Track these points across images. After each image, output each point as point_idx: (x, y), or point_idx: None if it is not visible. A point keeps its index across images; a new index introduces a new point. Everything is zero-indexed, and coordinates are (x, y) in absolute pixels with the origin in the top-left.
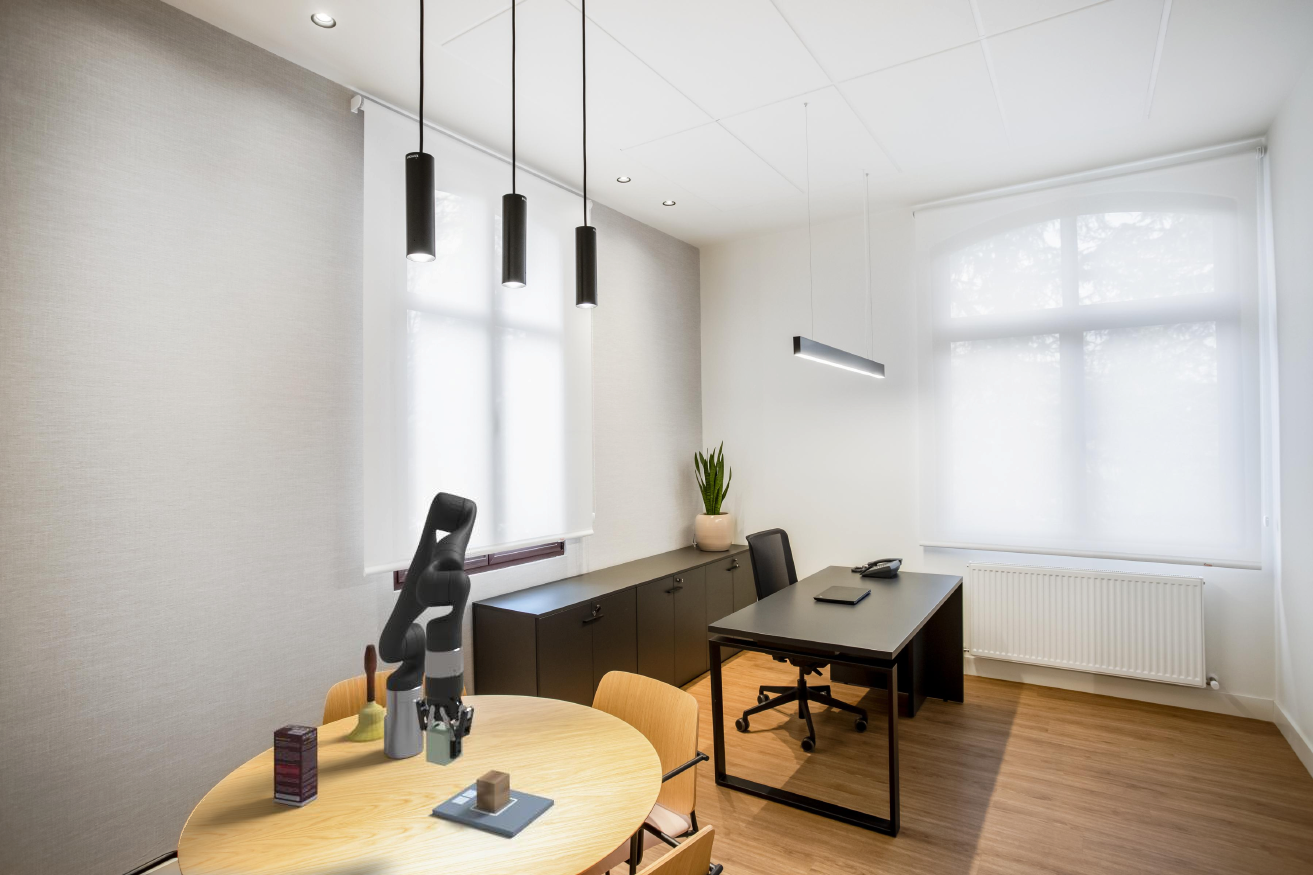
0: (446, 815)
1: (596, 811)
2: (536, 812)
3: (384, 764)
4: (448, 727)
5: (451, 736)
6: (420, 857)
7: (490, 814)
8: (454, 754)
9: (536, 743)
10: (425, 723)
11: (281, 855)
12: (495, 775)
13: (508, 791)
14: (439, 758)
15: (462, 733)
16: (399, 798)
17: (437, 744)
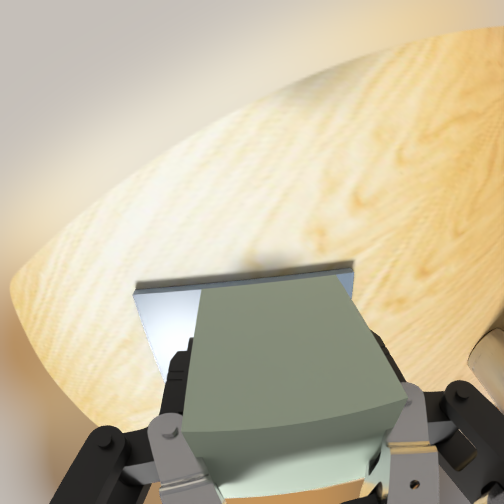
0: (313, 274)
1: (103, 385)
2: (155, 354)
3: (495, 315)
4: (177, 492)
5: (176, 435)
6: (240, 141)
7: None
8: (185, 357)
9: None
10: (456, 424)
11: (466, 57)
12: None
13: None
14: (242, 304)
15: (79, 455)
16: (437, 270)
17: (264, 358)
